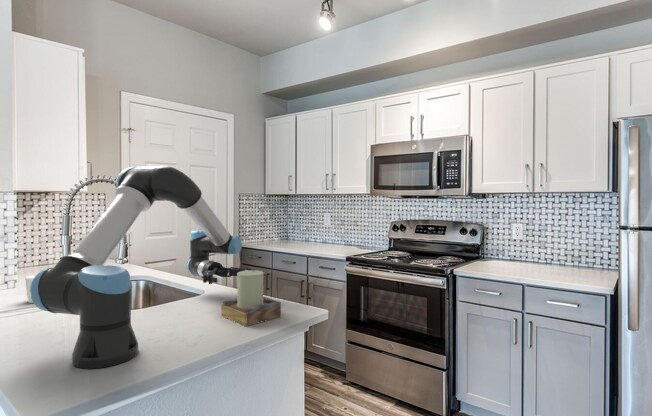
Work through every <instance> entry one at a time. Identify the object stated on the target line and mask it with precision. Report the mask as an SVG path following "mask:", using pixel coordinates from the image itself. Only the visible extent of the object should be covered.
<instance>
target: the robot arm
mask: <svg viewBox="0 0 652 416" xmlns="http://www.w3.org/2000/svg"><path fill="white" fill-rule="evenodd" d="M115 181H116V183H117V184H115V189H116V190H115V196H116V197H115V199H114V200H113V202H112V203H111V204H110V205H109V206H108V208H107V209H106V211H105V212H104V213H103V214H102V215H101V216H100V218H99V219H98V221H97V222H96V223H95V224H94V226H93V227H92V228H91V229H90V231H89V232H88V234H86V236H85V237H84V238H83V240H82V241H81V242H80V244H79V245H78V246H77V247H76V249H75V250H74V251H73V252H72V253H71V254H67V255H63V256H62V257H61V258H60V260H59V261H58V262H57V263H56V265H55V266H53V267H48V268H45V269H42V270H41V271H39V272H38V273H37V274H35V275H36V276H35V278H34V279H33V281H32V284H31V289H30V292H31V299H32V301H33V303H32V304H34V305H35V307H36V308H38V309H39V310H41V311H45V312H49V313H52V314H64V315H65V314H66V315H73V316H74V315H75V316H79V333H78V336H77V339H76V342H75V345H74V348H73V350H72V353H71V354H72V355H71V363H72V365H73V366H74V367H77V368H80V369H87V370H88V369H91V370H92V369H101V368H106V367H108V368H109V367H113V366H116V365H120V364H123V363H126V362H128V361H130V360H131V359H133V358H134V357H136V356H137V355H138V353H139V342H138V339H137V336H136V334H135V331H134V329H133V327H132V326H133V325H132V321H131V320H132V316H131V314H132V312H131V311H132V308H131V307H132V282H131V275H130V272H129V271H128V270H127V268H124V267H121V266H118V265H111V264H110V265H108V264H107V265H105V264H106V262H107V261H108V260H109V258H110V257H111V255H112V254H113V253H114V251H116V248H117V247H118V245H119V244H120V243H121V242H122V240H123V238H124V237H125V236H126V234H127V232H129V230H130V228H131V227H132V226H133V224H134V223H135V221H136V220H137V218H138V217H139V216H140V214H141V213H143V212H146V211H148V210H150V209H151V207H152V205H153V204H154V203H155V202H156V201H158V202H160V201H167V202H170V203H174V204H175V206H177V208H179V209H180V210H184V211H185V213H186V214H187V215H188V216H189V217H190V218H191V219H192V221H193V222H194V223H195V224H196V225H197V226H198V227H199V229H194V230H192V231H191V232H190V238H189V239H190V240H189V243H190V245H189V246H190V257H189V259H188V261H187V262H186V265H185V266H186V271H187V272H188V273H190V274H191V275H193V276H195V277H199V278H201V279H202V282H203V283H204V284H205V283H207V282H208V285H213V284H216V285H219V286H224V285H225V282H224V278H231V277H237V273H238V272H240V271H247V270H252V268H249V267H246V268H245V267H243V268H242V267H233V266H230V267H225V266H223V265H222V263H220V262H218V261H214V260H210V254H220V255H229V256H230V255H237V254H239V253H240V252H241V250H242V246H243V245H242V244H243V242H242V239H241V237H239V236H237V235H231V233H230V232H229V230H228V229H227V228H226V227H225V226H224V225H223V223H222V222H221V219H220V218H218V216H217V215H216V213H215V212H214V211H213V209H212V208H211V206H210V205H208V203H207V202H206V200H205V198H203V193H202V192H203V191H202V190H201V188H199V186H198V185H197V184H196V183H195V182H194V180H193V179H192V178H190V176H188V175H187V174H186V173H184V172H182V171H181V170H179V169H177V168H175V167H172V166H167V165H161V166H160V165H159V166H155V165H153V166H151V165H150V166H147V165H145V166H142V165H139V166H138V165H137V166H132V167H127V168H125V169H123V170H122V171H121V172H120V173H119V174H118V176H117V178H116V180H115Z"/></svg>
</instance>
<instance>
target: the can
mask: <svg viewBox="0 0 652 416" xmlns="http://www.w3.org/2000/svg"><path fill="white" fill-rule="evenodd" d="M264 273H265V272H264V271H262V270H256V269H255V270H252V269H251V270H247V271H240V272H238V273H237V276H236V278H237V279H236V280H237V298H236V299H237V307H239V308H242V309H247V308H251V307H256V306H260V305H264V303H263V297H264Z"/></svg>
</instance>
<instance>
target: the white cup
mask: <svg viewBox="0 0 652 416" xmlns="http://www.w3.org/2000/svg"><path fill="white" fill-rule="evenodd" d="M36 275H37V274H33V275H28V276H26V277H25V287H26V288H25V290H26V298H27V303H28V304H34V303H33V301H32V299H31V292H30V289H31V284H32V281H33V279H34V278H35V276H36Z"/></svg>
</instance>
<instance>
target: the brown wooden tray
mask: <svg viewBox="0 0 652 416" xmlns="http://www.w3.org/2000/svg"><path fill="white" fill-rule="evenodd" d="M263 303H264V305H260V306H256V307H251V308H247V309H242V308H239V307H237V298H232V299H226V300H223V301H222V304H221V317H222V316H223V318H224V317H226V318H225V319H227V318H228V319H227V320H229V319H230V321H231V320H233V321H232V322H234V321H235V322H234V323H236V322H237V324H238V323H239V324H238V325H241V326H243V325H244V327H248V326H247V325H249V326H251V324H253V325H255V324H254V323H256V324H259V323H258V322H260V323H262V322H261V321H264V322H266V321H265V320H267V321H270V320H269V319H271V320H274V319H273V318H275V319H278V318H281V317H282V301H278V300H275V299H272V298H269V297H266V296H263ZM280 316H281V317H280ZM277 317H278V318H277Z"/></svg>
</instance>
